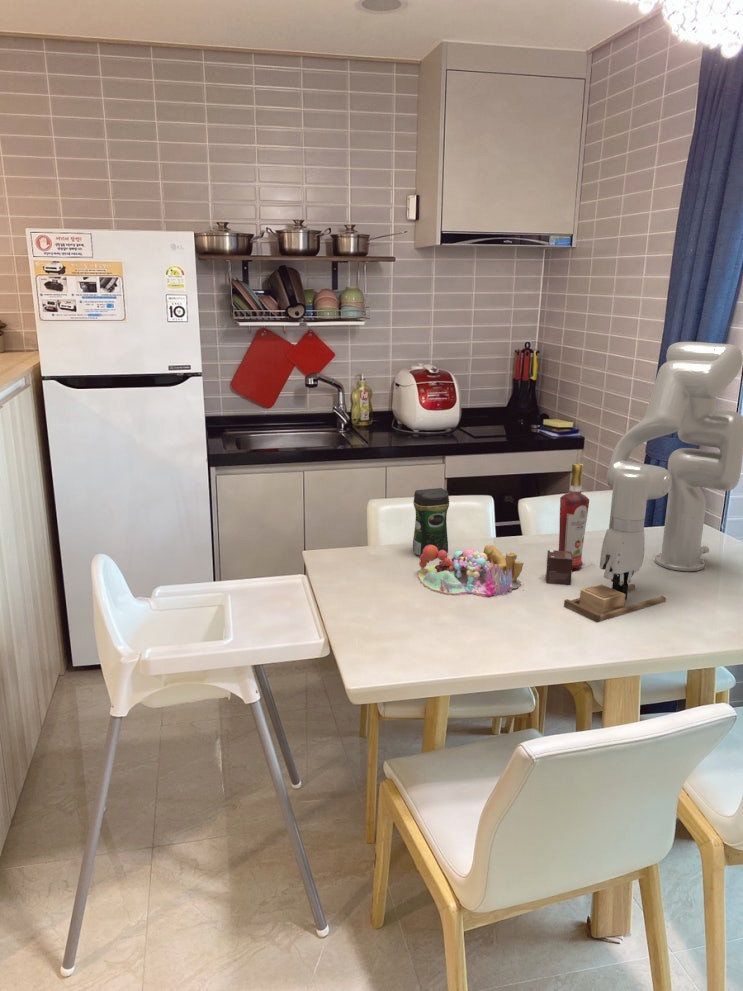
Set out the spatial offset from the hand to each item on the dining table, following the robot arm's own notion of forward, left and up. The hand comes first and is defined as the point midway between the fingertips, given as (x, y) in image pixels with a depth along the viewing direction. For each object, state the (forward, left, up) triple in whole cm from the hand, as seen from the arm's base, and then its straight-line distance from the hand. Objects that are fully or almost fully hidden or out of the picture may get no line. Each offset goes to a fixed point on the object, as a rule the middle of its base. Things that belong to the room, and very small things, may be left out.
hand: (618, 598), depth 179 cm
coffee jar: (+18, -51, -2) cm, 54 cm away
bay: (+1, 0, -2) cm, 2 cm away
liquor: (-8, -24, -2) cm, 26 cm away
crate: (+6, 0, -1) cm, 6 cm away
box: (+1, -18, -2) cm, 18 cm away
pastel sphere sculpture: (+21, -30, -2) cm, 36 cm away
